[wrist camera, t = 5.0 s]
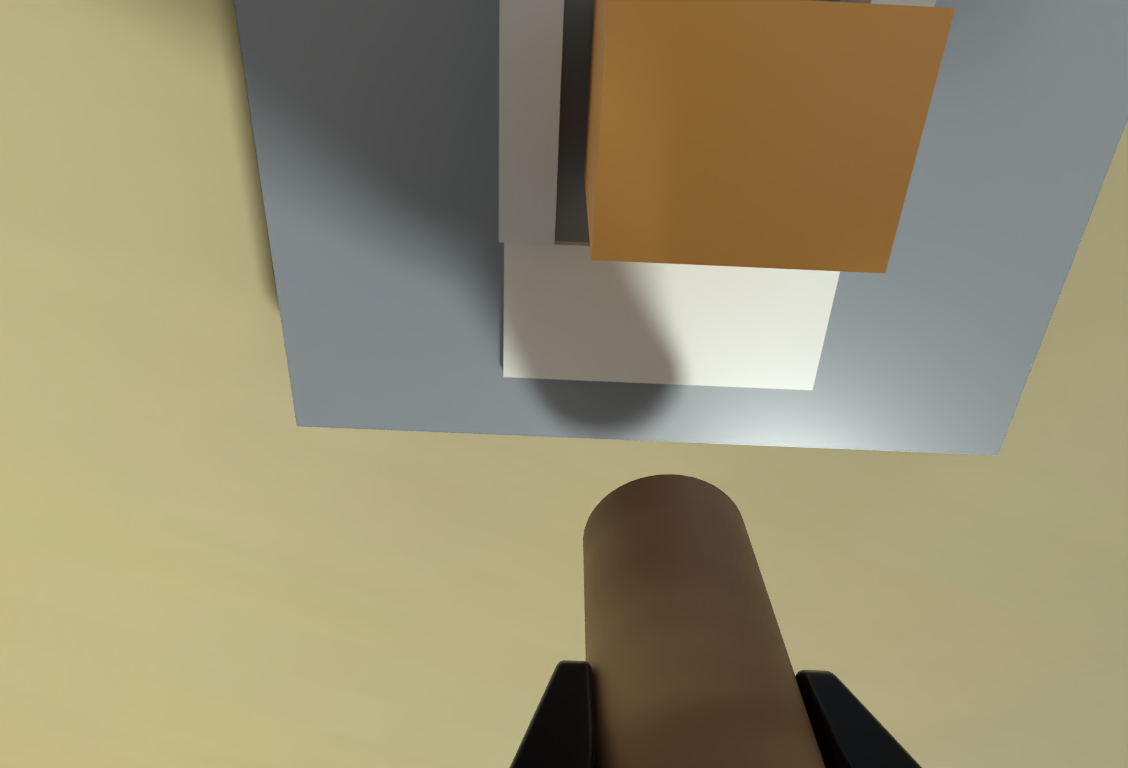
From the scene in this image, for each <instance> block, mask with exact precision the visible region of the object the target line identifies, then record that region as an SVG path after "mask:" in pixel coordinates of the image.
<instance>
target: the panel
mask: <svg viewBox="0 0 1128 768" xmlns="http://www.w3.org/2000/svg"><path fill="white" fill-rule="evenodd" d="M809 1H829V2H848V3H868V4H887V5H907V6H927V7H946V8H955V11H954V15H953V19H952V23H951V27H950V30H949V34H948V38H947V42H946V46H945V49H944V53H943V57H942V61H941V64H940V68H939V72H938V76H937V80H936V83H935V87H934V91H933V95H932V99H931V102H930V106H929V110H928V114H927V118H926V121H925V125H924V129H923V133H922V137H921V140H920V144H919V148H918V152H917V156H916V159H915V163H914V167H913V171H912V175H911V178H910V182H909V186H908V190H907V194H906V197H905V201H904V205H903V209H902V213H901V216H900V220H899V224H898V228H897V232H896V235H895V239H894V243H893V247H892V251H891V254H890V258H889V262H888V266H887V269H886V273H865V272H843V271H821V270H799V269H777V268H755V267H733V266H710V265H688V264H666V263H644V262H622V261H600V260H591V252H590V240H589V228H588V216H587V205H586V193H585V181H584V170H585V152H586V134H587V117H588V99H589V82H590V64H591V46H592V29H593V11H594V0H234V6H235V12H236V19H237V26H238V33H239V39H240V46H241V53H242V60H243V66H244V73H245V80H246V87H247V93H248V100H249V107H250V114H251V120H252V127H253V134H254V141H255V147H256V154H257V161H258V168H259V174H260V181H261V188H262V194H263V201H264V208H265V215H266V221H267V228H268V235H269V242H270V248H271V255H272V262H273V269H274V275H275V282H276V289H277V296H278V302H279V309H280V316H281V323H282V329H283V336H284V343H285V350H286V356H287V363H288V370H289V377H290V383H291V390H292V397H293V404H294V410H295V417H296V424H297V426H305V427H329V428H353V429H377V430H401V431H425V432H449V433H473V434H497V435H521V436H545V437H569V438H593V439H617V440H641V441H665V442H689V443H713V444H737V445H761V446H785V447H809V448H833V449H857V450H881V451H905V452H929V453H953V454H977V455H998V453H999V451H1000V448H1001V445H1002V443H1003V440H1004V438H1005V435H1006V433H1007V430H1008V427H1009V425H1010V422H1011V420H1012V417H1013V414H1014V412H1015V409H1016V407H1017V404H1018V401H1019V399H1020V396H1021V394H1022V391H1023V389H1024V386H1025V383H1026V381H1027V378H1028V376H1029V373H1030V370H1031V368H1032V365H1033V363H1034V360H1035V357H1036V355H1037V352H1038V350H1039V347H1040V345H1041V342H1042V339H1043V337H1044V334H1045V332H1046V329H1047V326H1048V324H1049V321H1050V319H1051V316H1052V313H1053V311H1054V308H1055V306H1056V303H1057V301H1058V298H1059V295H1060V293H1061V290H1062V288H1063V285H1064V282H1065V280H1066V277H1067V275H1068V272H1069V269H1070V267H1071V264H1072V262H1073V259H1074V257H1075V254H1076V251H1077V249H1078V246H1079V244H1080V241H1081V238H1082V236H1083V233H1084V231H1085V228H1086V225H1087V223H1088V220H1089V218H1090V215H1091V213H1092V210H1093V207H1094V205H1095V202H1096V200H1097V197H1098V194H1099V192H1100V189H1101V187H1102V184H1103V181H1104V179H1105V176H1106V174H1107V171H1108V169H1109V166H1110V163H1111V161H1112V158H1113V156H1114V153H1115V150H1116V148H1117V145H1118V143H1119V140H1120V137H1121V135H1122V132H1123V130H1124V127H1125V125H1126V122H1127V119H1128V0H809Z"/></svg>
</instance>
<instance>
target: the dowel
mask: <svg viewBox="0 0 1128 768" xmlns="http://www.w3.org/2000/svg"><path fill="white" fill-rule="evenodd" d="M583 553H584V598H585V643H586V662H588V663H590V665H591V668H592V683H593V701H594V720H595V738H596V758H595V768H826V767H825V764H824V761H823V758H822V755H821V752H820V749H819V746H818V743H817V740H816V737H815V734H814V731H813V728H812V725H811V722H810V719H809V716H808V713H807V710H806V707H805V704H804V701H803V698H802V695H801V692H800V689H799V686H798V683H797V680H796V677H795V674H794V671H793V668H792V665H791V662H790V659H789V656H788V653H787V650H786V647H785V644H784V641H783V638H782V635H781V632H780V629H779V626H778V623H777V620H776V617H775V614H774V611H773V608H772V605H771V602H770V599H769V596H768V593H767V590H766V587H765V584H764V581H763V578H762V575H761V572H760V569H759V566H758V563H757V560H756V557H755V554H754V551H753V548H752V545H751V542H750V539H749V536H748V533H747V530H746V527H745V524H744V521H743V519H742V516H741V514H740V511H739V510H738V508H737V506H736V505H735V503H734V502H733V501H732V500H731V499H730V498H729V497H728V496H727V495H726V494H725V493H724V492H723V491H721V490H720V489H718V488H717V487H715V486H714V485H711V484H709V483H707V482H705V481H703V480H700V479H697V478H693V477H688V476H683V475H673V474H672V475H655V476H648V477H644V478H640V479H637V480H634V481H631V482H629V483H627V484H625V485H622V486H620V487H619V488H617V489H616V490H614V491H612V492H611V493H610V494H608V495H607V496H606V497H605V498H604V499H603V500H602V501H601V502H600V503H599V504H598V505H597V506H596V507H595V509H594V510H593V512H592V513H591V515H590V517H589V519H588V521H587V524H586V527H585V530H584V536H583Z"/></svg>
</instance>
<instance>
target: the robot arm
mask: <svg viewBox="0 0 1128 768" xmlns="http://www.w3.org/2000/svg"><path fill="white" fill-rule="evenodd" d="M795 677H796V680H797V683H798V686H799V689H800V692H801V695H802V698H803V701H804V704H805V707H806V710H807V713H808V716H809V719H810V722H811V725H812V728H813V731H814V734H815V737H816V740H817V743H818V746H819V749H820V752H821V755H822V758H823V761H824V764H825V767H826V768H922V767H921V766H920V765H919V764H918V763H917V762H916V761H915V760H914V759H913V758H912V757H911V756H910V754H909V753H908V752H907V751H906V750H905V749H904V748H903V747H902V746H901V745H900V744H899V743H898V742H897V741H896V739H895V738H894V737H893V736H892V735H891V734H890V733H889V732H888V731H887V730H886V729H885V728H884V727H883V726H882V725H881V723H880V722H879V721H878V720H877V719H876V718H875V717H874V716H873V715H872V714H871V713H870V712H869V711H868V710H867V708H866V707H865V706H864V705H863V704H862V703H861V702H860V701H859V700H858V699H857V698H856V697H855V696H854V695H853V694H852V692H851V691H850V690H849V689H848V688H847V687H846V686H845V685H844V684H843V683H842V682H841V681H840V680H839V679H838V678H837V677H836V676H835V675H834V674H833V673H831V672H829V671H819V670H801V671H799V672H798V673H797V674H796V676H795ZM595 758H596V738H595V720H594V701H593V683H592V668H591V665H590V663H588V662H586V661H565V660H564V661H560V662H559V663H558V664H557V666H556V668H555V670H554V672H553V674H552V677H551V679H550V681H549V683H548V685H547V687H546V690H545V692H544V694H543V696H542V698H541V701H540V703H539V705H538V707H537V709H536V711H535V714H534V716H533V718H532V720H531V722H530V725H529V727H528V729H527V731H526V733H525V735H524V738H523V740H522V742H521V744H520V746H519V749H518V751H517V753H516V755H515V757H514V759H513V762H512V764H511V766H510V768H595Z"/></svg>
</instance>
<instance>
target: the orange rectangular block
mask: <svg viewBox="0 0 1128 768" xmlns="http://www.w3.org/2000/svg"><path fill="white" fill-rule="evenodd" d="M954 11H955V8H946V7H927V6H907V5H887V4H868V3H848V2H829V1H809V0H594V11H593V29H592V46H591V64H590V82H589V99H588V117H587V134H586V152H585V170H584V181H585V193H586V205H587V216H588V228H589V240H590V252H591V260H600V261H622V262H644V263H666V264H688V265H710V266H733V267H755V268H777V269H799V270H821V271H843V272H865V273H886V269H887V266H888V262H889V258H890V254H891V251H892V247H893V243H894V239H895V235H896V232H897V228H898V224H899V220H900V216H901V213H902V209H903V205H904V201H905V197H906V194H907V190H908V186H909V182H910V178H911V175H912V171H913V167H914V163H915V159H916V156H917V152H918V148H919V144H920V140H921V137H922V133H923V129H924V125H925V121H926V118H927V114H928V110H929V106H930V102H931V99H932V95H933V91H934V87H935V83H936V80H937V76H938V72H939V68H940V64H941V61H942V57H943V53H944V49H945V46H946V42H947V38H948V34H949V30H950V27H951V23H952V19H953V15H954Z"/></svg>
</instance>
